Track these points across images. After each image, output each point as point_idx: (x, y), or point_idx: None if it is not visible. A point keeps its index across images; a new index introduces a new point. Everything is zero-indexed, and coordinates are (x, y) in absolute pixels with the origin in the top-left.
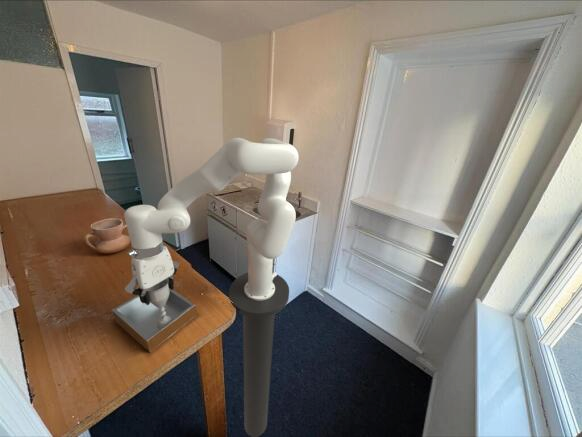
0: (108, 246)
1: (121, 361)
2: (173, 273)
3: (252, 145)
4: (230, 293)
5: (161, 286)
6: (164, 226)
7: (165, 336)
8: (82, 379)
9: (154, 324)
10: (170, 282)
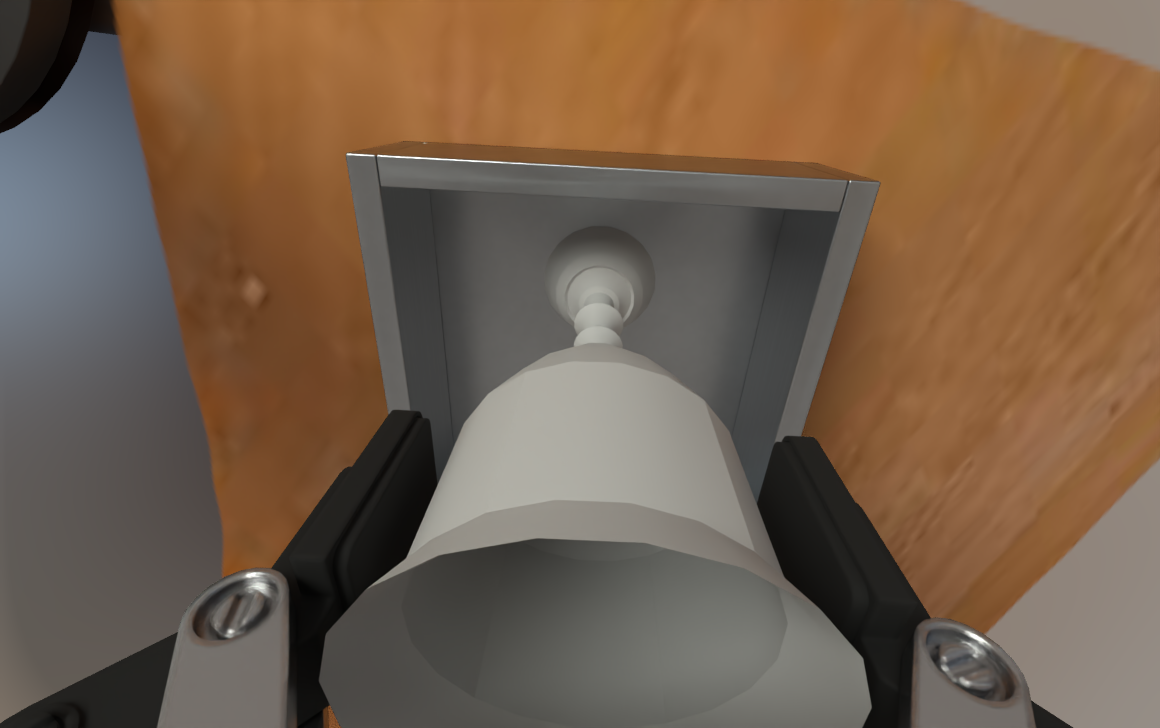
0: None
1: (926, 269)
2: (147, 693)
3: None
4: (4, 35)
5: (492, 557)
6: None
7: (697, 159)
8: (1073, 345)
9: (641, 338)
10: (363, 530)
